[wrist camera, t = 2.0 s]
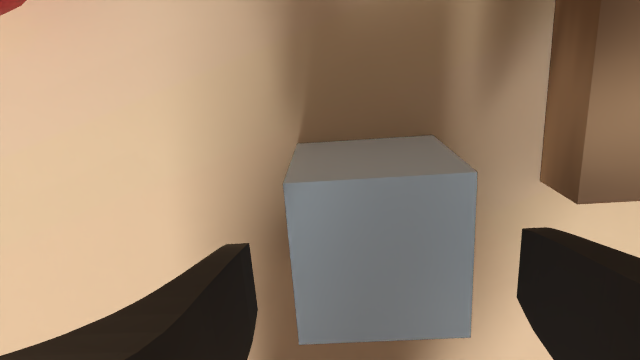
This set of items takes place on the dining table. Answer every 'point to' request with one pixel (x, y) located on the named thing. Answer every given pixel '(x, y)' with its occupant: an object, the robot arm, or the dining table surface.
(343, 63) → the dining table surface
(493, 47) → the dining table surface
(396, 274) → the cube
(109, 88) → the dining table surface
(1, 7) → the onion
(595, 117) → the base
